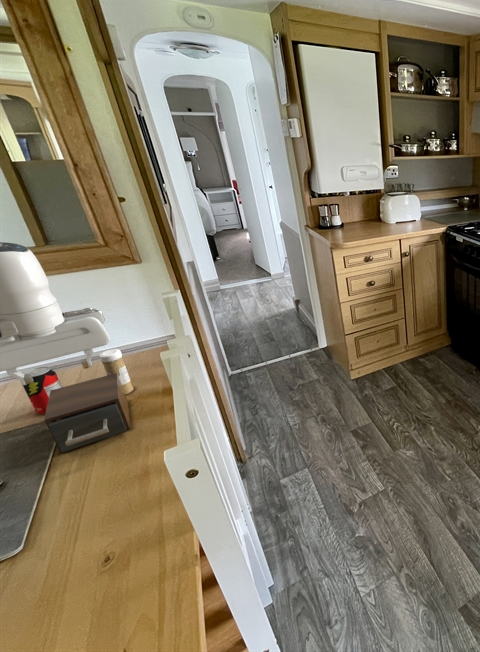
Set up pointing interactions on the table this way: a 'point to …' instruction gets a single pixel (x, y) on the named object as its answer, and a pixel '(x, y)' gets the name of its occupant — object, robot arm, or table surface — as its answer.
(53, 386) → the beverage can
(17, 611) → the table surface
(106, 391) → the cabinet
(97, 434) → the drawer
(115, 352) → the sprinkles bottle
